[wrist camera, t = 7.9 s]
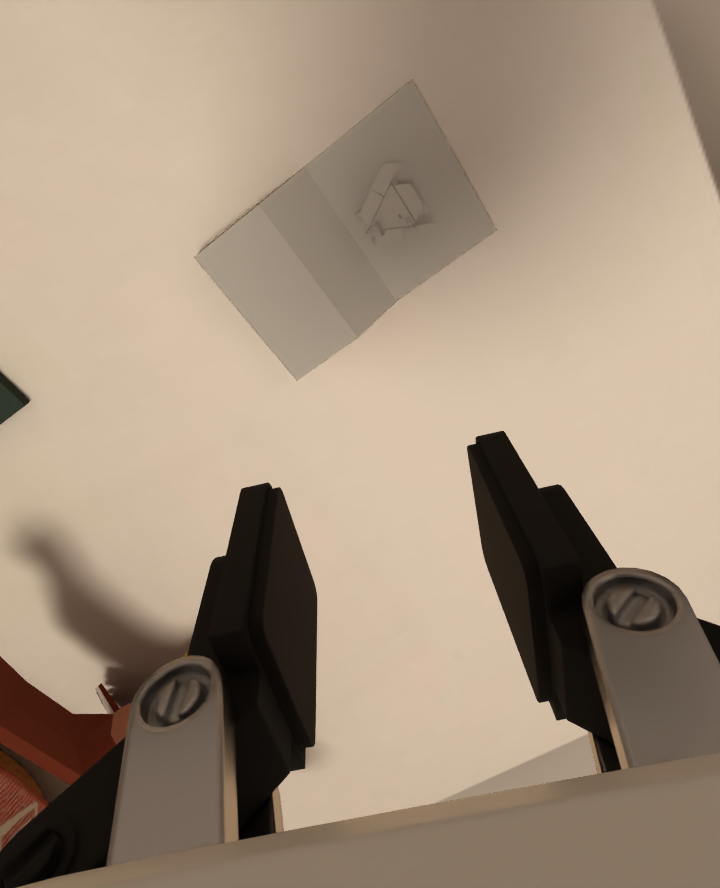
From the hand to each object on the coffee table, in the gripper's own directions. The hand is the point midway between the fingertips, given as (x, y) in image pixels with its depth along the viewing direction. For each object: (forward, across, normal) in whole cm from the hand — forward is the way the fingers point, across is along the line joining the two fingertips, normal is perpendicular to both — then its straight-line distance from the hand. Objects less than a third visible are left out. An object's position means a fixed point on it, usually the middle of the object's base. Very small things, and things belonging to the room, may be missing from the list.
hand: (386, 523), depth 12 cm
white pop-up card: (+19, 0, -2) cm, 19 cm away
